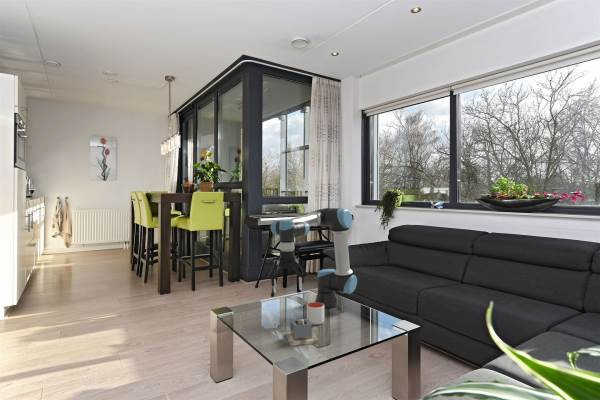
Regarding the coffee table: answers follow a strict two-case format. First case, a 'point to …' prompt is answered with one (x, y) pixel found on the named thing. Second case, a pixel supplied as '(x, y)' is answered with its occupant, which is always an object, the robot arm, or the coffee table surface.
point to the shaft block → (300, 342)
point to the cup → (315, 313)
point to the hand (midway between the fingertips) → (287, 291)
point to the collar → (301, 329)
